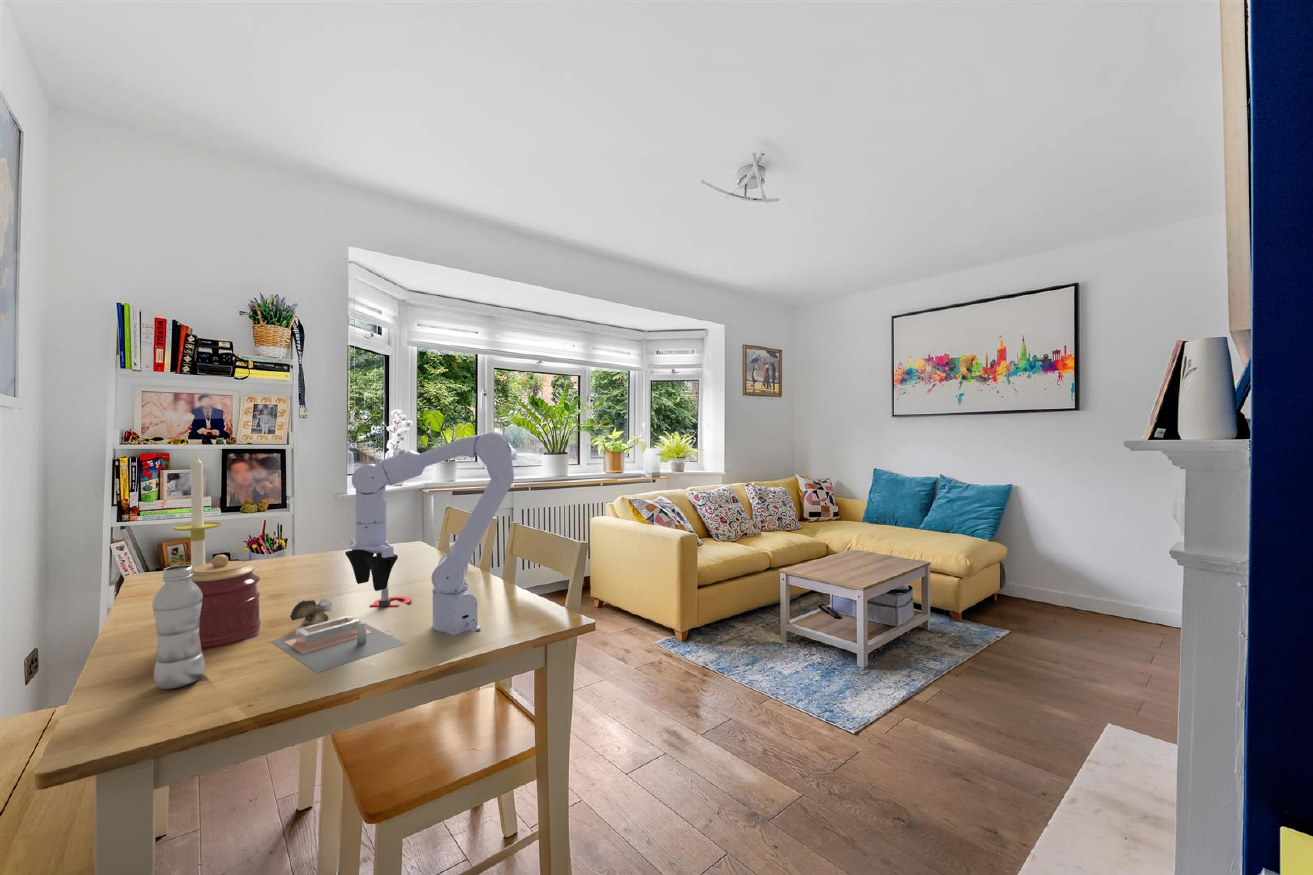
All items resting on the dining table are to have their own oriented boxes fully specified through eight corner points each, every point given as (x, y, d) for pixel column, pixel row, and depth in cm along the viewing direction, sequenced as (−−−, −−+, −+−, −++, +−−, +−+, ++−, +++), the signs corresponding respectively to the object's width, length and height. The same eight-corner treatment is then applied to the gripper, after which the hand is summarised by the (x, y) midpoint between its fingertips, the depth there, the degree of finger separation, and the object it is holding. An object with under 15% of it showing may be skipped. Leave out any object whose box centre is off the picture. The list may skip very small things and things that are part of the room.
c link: (360, 632, 112) (359, 620, 112) (306, 648, 104) (305, 635, 104) (349, 626, 115) (348, 615, 115) (295, 641, 107) (295, 629, 107)
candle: (159, 616, 122) (156, 452, 121) (208, 602, 132) (206, 450, 131) (188, 622, 119) (186, 453, 118) (236, 607, 129) (234, 451, 128)
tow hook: (383, 600, 136) (364, 611, 127) (384, 549, 136) (366, 556, 127) (417, 600, 136) (400, 612, 127) (418, 549, 137) (402, 557, 127)
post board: (406, 648, 107) (406, 623, 107) (317, 678, 94) (317, 650, 94) (354, 622, 120) (354, 600, 120) (270, 646, 107) (269, 621, 107)
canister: (272, 636, 112) (271, 552, 111) (195, 660, 101) (193, 566, 100) (243, 624, 118) (242, 544, 118) (167, 645, 107) (165, 557, 107)
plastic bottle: (215, 674, 95) (213, 562, 94) (182, 694, 88) (180, 573, 88) (177, 675, 95) (175, 562, 94) (142, 694, 88) (139, 573, 87)
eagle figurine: (286, 619, 119) (279, 625, 111) (307, 589, 121) (302, 593, 113) (320, 634, 121) (316, 641, 113) (340, 604, 123) (337, 609, 116)
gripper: (335, 520, 114) (335, 584, 114) (368, 528, 105) (368, 597, 105) (369, 515, 119) (369, 576, 120) (403, 523, 111) (403, 589, 111)
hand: (371, 586), depth 113 cm, fingers open, 7 cm apart
